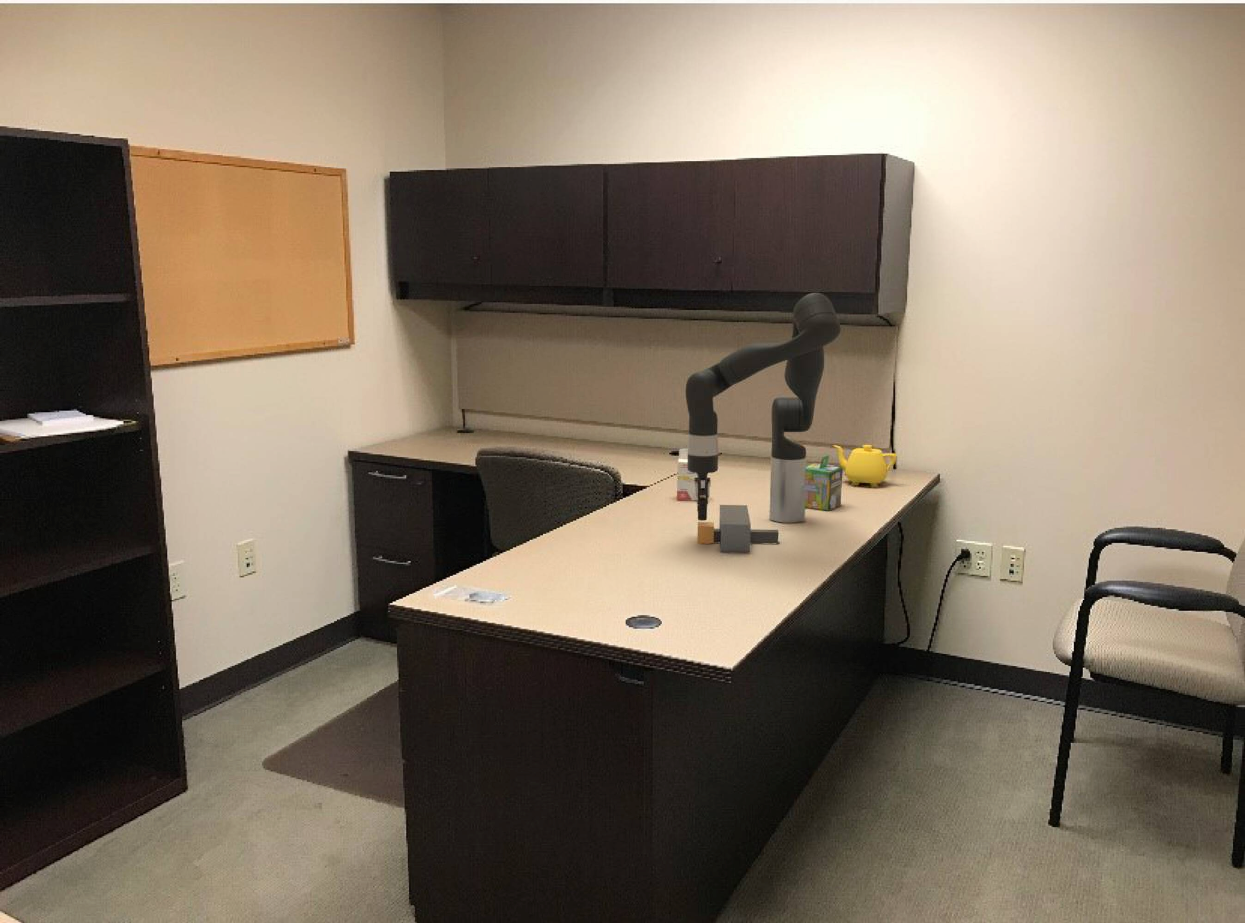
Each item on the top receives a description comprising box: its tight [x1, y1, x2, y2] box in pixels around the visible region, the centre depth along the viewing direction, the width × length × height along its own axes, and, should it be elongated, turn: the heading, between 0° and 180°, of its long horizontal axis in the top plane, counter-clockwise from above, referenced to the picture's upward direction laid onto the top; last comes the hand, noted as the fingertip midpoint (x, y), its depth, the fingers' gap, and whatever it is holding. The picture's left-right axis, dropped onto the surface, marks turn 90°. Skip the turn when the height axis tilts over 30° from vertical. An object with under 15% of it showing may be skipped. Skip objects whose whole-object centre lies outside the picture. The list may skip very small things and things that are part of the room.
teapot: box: [833, 444, 898, 488], centre depth 321 cm, size 13×20×12 cm
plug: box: [697, 521, 780, 544], centre depth 255 cm, size 20×4×4 cm, turn 86°
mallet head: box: [718, 504, 752, 553], centre depth 254 cm, size 7×20×7 cm, turn 176°
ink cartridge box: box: [676, 448, 698, 501], centre depth 300 cm, size 9×5×15 cm, turn 84°
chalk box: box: [805, 454, 844, 512], centre depth 291 cm, size 9×9×15 cm
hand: (701, 516), depth 254 cm, fingers open, 8 cm apart
